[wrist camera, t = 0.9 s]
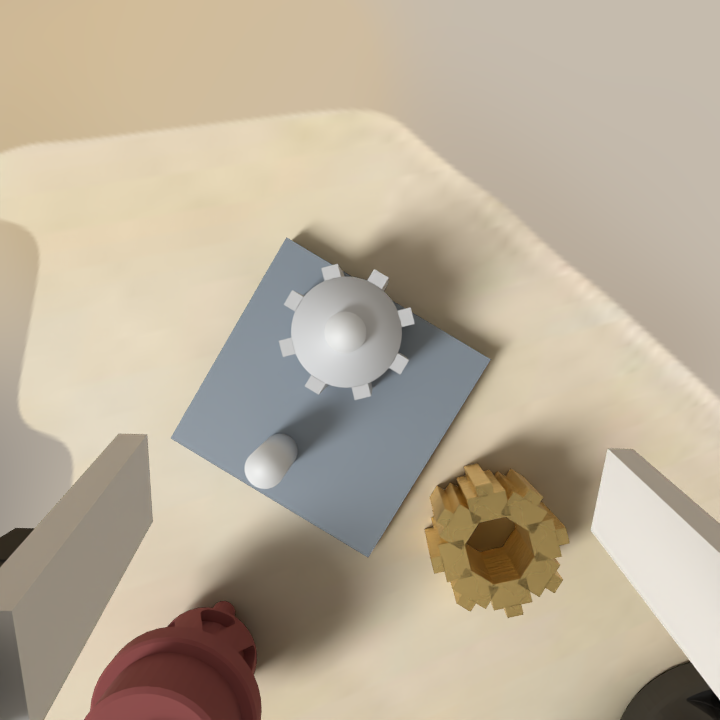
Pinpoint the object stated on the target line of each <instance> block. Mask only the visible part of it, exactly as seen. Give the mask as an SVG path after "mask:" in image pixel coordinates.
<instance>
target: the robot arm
mask: <svg viewBox="0 0 720 720" xmlns="http://www.w3.org/2000/svg"><path fill="white" fill-rule="evenodd" d="M152 522H153V517H152V501H151V486H150V470H149V455H148V439H147V435H145V434H118V435H117V436H116V437H115V439H114V440H113V441H112V442H111V443H110V444H109V445H108V446H107V448H106V449H105V450H104V451H103V452H102V453H101V454H100V455H99V457H98V458H97V459H96V460H95V461H94V462H93V463H92V465H91V466H90V467H89V468H88V469H87V470H86V471H85V472H84V474H83V475H82V476H81V477H80V478H79V479H78V480H77V481H76V483H75V484H74V485H73V486H72V487H71V488H70V489H69V490H68V492H67V493H66V494H65V495H64V496H63V497H62V498H61V499H60V501H59V502H58V503H57V504H56V505H55V506H54V507H53V509H52V510H51V511H50V512H49V513H48V514H47V515H46V516H45V517H44V519H43V520H42V521H41V522H40V523H39V524H38V525H37V527H36V528H32V529H31V528H15V529H13V530H12V531H10V532H9V533H7V534H5V535H3V536H2V537H0V720H44V719H45V717H46V715H47V713H48V711H49V710H50V708H51V706H52V704H53V702H54V700H55V699H56V697H57V695H58V693H59V691H60V689H61V688H62V686H63V684H64V682H65V680H66V679H67V677H68V675H69V673H70V671H71V669H72V668H73V666H74V664H75V662H76V660H77V658H78V657H79V655H80V653H81V651H82V649H83V648H84V646H85V644H86V642H87V640H88V638H89V637H90V635H91V633H92V631H93V629H94V627H95V626H96V624H97V622H98V620H99V618H100V617H101V615H102V613H103V611H104V609H105V607H106V606H107V604H108V602H109V600H110V598H111V596H112V595H113V593H114V591H115V589H116V587H117V586H118V584H119V582H120V580H121V578H122V576H123V575H124V573H125V571H126V569H127V567H128V565H129V564H130V562H131V560H132V558H133V556H134V555H135V553H136V551H137V549H138V547H139V545H140V544H141V542H142V540H143V538H144V536H145V534H146V533H147V531H148V529H149V527H150V525H151V524H152ZM591 531H592V533H593V534H594V535H595V537H596V538H597V539H598V541H599V542H600V543H601V544H602V546H603V547H604V548H605V550H606V551H607V552H608V554H609V555H610V556H611V558H612V559H613V560H614V562H615V563H616V564H617V566H618V567H619V568H620V569H621V571H622V572H623V573H624V575H625V576H626V577H627V579H628V580H629V581H630V583H631V584H632V585H633V587H634V588H635V589H636V591H637V592H638V593H639V594H640V596H641V597H642V598H643V600H644V601H645V602H646V604H647V605H648V606H649V608H650V609H651V610H652V612H653V613H654V614H655V615H656V617H657V618H658V619H659V621H660V622H661V623H662V625H663V626H664V627H665V629H666V630H667V631H668V633H669V634H670V635H671V637H672V638H673V639H674V640H675V642H676V643H677V644H678V646H679V647H680V648H681V650H682V651H683V652H684V654H685V655H686V656H687V658H688V659H689V660H690V661H691V663H687V664H684V665H681V666H679V667H676V668H674V669H671V670H669V671H667V672H666V673H664V674H662V675H660V676H659V677H657V678H656V679H654V680H653V681H651V682H650V683H649V684H648V685H647V686H645V687H644V688H643V689H642V690H641V691H640V692H639V693H638V694H637V695H636V696H635V698H634V699H633V700H632V701H631V703H630V704H629V705H628V707H627V708H626V710H625V712H624V713H623V715H622V717H621V719H620V720H720V523H718V522H717V521H716V520H715V519H714V518H713V517H711V516H710V515H709V514H708V513H707V512H706V511H704V510H703V509H702V508H701V507H700V506H699V505H697V504H696V503H695V502H694V501H693V500H692V499H690V498H689V497H688V496H687V495H686V494H685V493H683V492H682V491H681V490H680V489H679V488H678V487H676V486H675V485H674V484H673V483H672V482H671V481H669V480H668V479H667V478H666V477H665V476H664V475H662V474H661V473H660V472H659V471H658V470H657V469H655V468H654V467H653V466H652V465H651V464H650V463H649V462H647V461H646V460H645V459H644V458H643V457H642V456H640V455H639V454H638V453H637V452H636V451H635V450H633V449H607V454H606V459H605V464H604V468H603V473H602V478H601V483H600V488H599V493H598V497H597V502H596V507H595V512H594V517H593V522H592V526H591Z"/></svg>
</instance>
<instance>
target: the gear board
mask: <svg viewBox="0 0 720 720" xmlns="http://www.w3.org/2000/svg"><path fill="white" fill-rule="evenodd" d="M388 279H389V278H388V277H387V276H385V275H383V274H382V273H380V272H378V271H377V270H375V269H374V270H373V272H372V273H371V275H370V277H369V278H368V280H364V279H361V278H356V277H352V276H350V275H349V274H347V273H345V272H344V271H342V269H341V268H340V266H339V265H338V264H335V265H332V264H330V263H329V262H327V261H325V260H323V259H322V258H320V257H318V256H317V255H315V254H313V253H312V252H310V251H308V250H307V249H305V248H303V247H302V246H300V245H298V244H297V243H295V242H293V241H292V240H290V239H288V238H287V237H286V239H285V241H284V243H283V244H282V246H281V248H280V250H279V251H278V253H277V255H276V256H275V258H274V260H273V262H272V263H271V265H270V267H269V269H268V270H267V272H266V274H265V276H264V277H263V279H262V281H261V282H260V284H259V286H258V288H257V289H256V291H255V293H254V295H253V296H252V298H251V300H250V302H249V303H248V305H247V307H246V308H245V310H244V312H243V314H242V315H241V317H240V319H239V321H238V322H237V324H236V326H235V328H234V329H233V331H232V333H231V334H230V336H229V338H228V340H227V341H226V343H225V345H224V347H223V348H222V350H221V352H220V353H219V355H218V357H217V359H216V360H215V362H214V364H213V366H212V367H211V369H210V371H209V373H208V374H207V376H206V378H205V379H204V381H203V383H202V385H201V386H200V388H199V390H198V392H197V393H196V395H195V397H194V399H193V400H192V402H191V404H190V405H189V407H188V409H187V411H186V412H185V414H184V416H183V418H182V419H181V421H180V423H179V425H178V426H177V428H176V430H175V431H174V433H173V435H172V437H171V439H173V440H174V441H176V442H178V443H179V444H181V445H183V446H184V447H186V448H188V449H189V450H191V451H193V452H194V453H196V454H198V455H199V456H201V457H203V458H204V459H206V460H207V461H209V462H211V463H212V464H214V465H216V466H217V467H219V468H221V469H222V470H224V471H226V472H227V473H229V474H231V475H232V476H234V477H236V478H237V479H239V480H241V481H242V482H244V483H246V484H247V485H249V486H251V487H252V488H254V489H255V490H257V491H259V492H260V493H262V494H264V495H265V496H267V497H269V498H270V499H272V500H274V501H275V502H277V503H279V504H280V505H282V506H284V507H285V508H287V509H289V510H290V511H292V512H294V513H295V514H297V515H299V516H300V517H302V518H303V519H305V520H307V521H308V522H310V523H312V524H313V525H315V526H317V527H318V528H320V529H322V530H323V531H325V532H327V533H328V534H330V535H332V536H333V537H335V538H337V539H338V540H340V541H342V542H343V543H345V544H347V545H348V546H350V547H351V548H353V549H355V550H356V551H358V552H360V553H361V554H363V555H365V556H366V557H369V556H370V554H371V552H372V551H373V549H374V547H375V546H376V544H377V543H378V541H379V539H380V538H381V536H382V535H383V533H384V531H385V530H386V528H387V526H388V525H389V523H390V522H391V520H392V518H393V517H394V515H395V514H396V512H397V510H398V509H399V507H400V505H401V504H402V502H403V501H404V499H405V497H406V496H407V494H408V492H409V491H410V489H411V488H412V486H413V484H414V483H415V481H416V480H417V478H418V476H419V475H420V473H421V471H422V470H423V468H424V467H425V465H426V463H427V462H428V460H429V458H430V457H431V455H432V454H433V452H434V450H435V449H436V447H437V446H438V444H439V442H440V441H441V439H442V437H443V436H444V434H445V433H446V431H447V429H448V428H449V426H450V425H451V423H452V421H453V420H454V418H455V416H456V415H457V413H458V412H459V410H460V408H461V407H462V405H463V403H464V402H465V400H466V399H467V397H468V395H469V394H470V392H471V391H472V389H473V387H474V386H475V384H476V382H477V381H478V379H479V378H480V376H481V374H482V373H483V371H484V369H485V368H486V366H487V365H488V363H489V361H490V360H491V359H489V358H487V357H486V356H484V355H482V354H481V353H479V352H477V351H476V350H474V349H472V348H471V347H469V346H467V345H466V344H464V343H462V342H461V341H459V340H457V339H456V338H454V337H452V336H451V335H449V334H447V333H446V332H444V331H442V330H441V329H439V328H437V327H436V326H434V325H432V324H431V323H429V322H427V321H426V320H424V319H422V318H421V317H419V316H417V315H415V314H414V313H412V311H411V307H410V308H406V309H405V308H404V307H402V306H400V305H399V304H397V303H395V302H394V301H392V300H391V298H390V297H389V296H388V295H387V294H386V293H385V292H384V290H385V289H386V287H387V285H388Z"/></svg>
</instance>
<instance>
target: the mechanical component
mask: <svg viewBox="0 0 720 720" xmlns="http://www.w3.org/2000/svg"><path fill="white" fill-rule="evenodd" d="M256 664H257V652H256V646H255V643H254V640H253V638H252V636H251V634H250V632H249V630H248V629H247V628H246V626H245V625H244V624H243V623H242V622H241V621H240V620H239V619H238V618H236V617H235V609H234V607H233V605H232V604H231V603H229V602H227V601H220V602H218V603H217V604H215V606H214V607H213V608H206V607H204V608H196V609H192V610H189V611H187V612H185V613H183V614H181V615H179V616H178V617H177V618H175V619H174V620H173V621H172V622H171V623H170V624H169V625H168V627H165V628H159V629H155V630H152V631H149V632H146V633H144V634H142V635H140V636H138V637H136V638H135V639H133V640H132V641H131V642H129V643H128V644H127V645H126V646H125V647H124V648H122V649H121V650H120V651H119V653H118V654H117V655H116V656H115V657H114V659H113V660H112V661H111V662H110V663H109V665H108V666H107V667H106V668H105V670H104V671H103V673H102V674H101V676H100V678H99V680H98V682H97V684H96V686H95V689H94V692H93V696H92V700H91V708H90V712H89V713H88V715H87V716H86V717H85V719H84V720H261V697H260V693H259V688H258V685H257V682H256V680H255V677H254V672H255V668H256Z"/></svg>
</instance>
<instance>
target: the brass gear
mask: <svg viewBox="0 0 720 720" xmlns="http://www.w3.org/2000/svg"><path fill="white" fill-rule="evenodd" d="M464 470H465V474H466V475H465V476H461V477H457V478H456V479H457V483H458V486H456V485H454V484H453V483H451V482H450V483H449V484H448V486H447V488H446V489H445V490H444V489H442V488H440V487H439V486H436V488H435V490H434V491H433V493H432V494H431V496H430V500H431V504H432V508H433V510H432V511H433V514H434V517H432V518H431V519H432V523H433V527H432V528H427V529H425V533H426V538H427V543H428V548H429V553H430V558H431V562H432V566H433V570H434V574H435V573H439V572H444V571H445V575H446V579H447V582H451V585H452V589H453V592H454V595H455V599H456V603H457V604H459V605H460V606H462V607H464V608H465V609H467V610H468V611H471V610H472V608H473V607H474V605H475V604H476V603H477V604H478V605H480V606H482V607H483V608H485V609H486V607H487V606H488V604H489V603H490V601H491V604H492V606H493V609H494V610H498V609H502V608H504V610H505V613H506V615H507V617H508V618H509V617H514V616H518V615H523V610H522V606H521V604H525V603H530V602H532V599H531V595H530V592H532V593H533V594H535V595H537V596H538V597H540V595H541V594H542V592H543V591H544V589H545V588H547V589H548V590H550V591H552V592H553V593H555V592H556V590H557V589H558V587H559V585H560V584H561V582H562V581H563V579H562V577H561V576H560V575H559V573H558V572H557V569H558V568H559V566H560V564H559V563H558V561H557V560H556V559H555V558H557V557H561V551H560V547H559V545H564V544H568V543H569V539H568V534H567V530H566V527H565V526H564V525H563V524H562V523H561V522H560V521H559V520H558V519H557V517H556V516H555V515H554V514H553V513H552V512H551V511H550V510H549V509H548V508H547V507H546V506H545V504H544V503H543V502H541V500H542V499H543V496H542V495H541V494H540V493H539V492H538V491H537V490H536V489H535V488H534V487H533V486H532V485H531V484H530V483H529V482H528V481H527V480H526V479H525V478H524V476H522V475H521V474H519V473H517V472H516V471H514V470H512V469H511V468H510V470H509V472H508V473H507V475H506V476H505V475H503V474H501V473H500V472H498V471H497V472H496V474H495V475H493V474H492V472H491V471H490V470H486V471H483V470H482V469H481V467H480V466H479V464H478V463H476V464H472V465H468V466H464ZM502 517H506V518H508V519H510V520H511V521H513V522H514V524H515V528H514V530H513V532H512V533H511V535H510V536H509V538H508V539H507V541H506V543H505V544H504V546H503V547H499V548H495V549H490V550H486V551H482V552H479V551H478V550H476V549H474V548H473V547H471V546H469V545H468V544H466V542H467V541H468V539H469V538H470V536H471V535H472V533H473V531H474V530H475V528H476V527H477V525H478V523H480V522H485V521H489V520H494V519H498V518H502Z"/></svg>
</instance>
